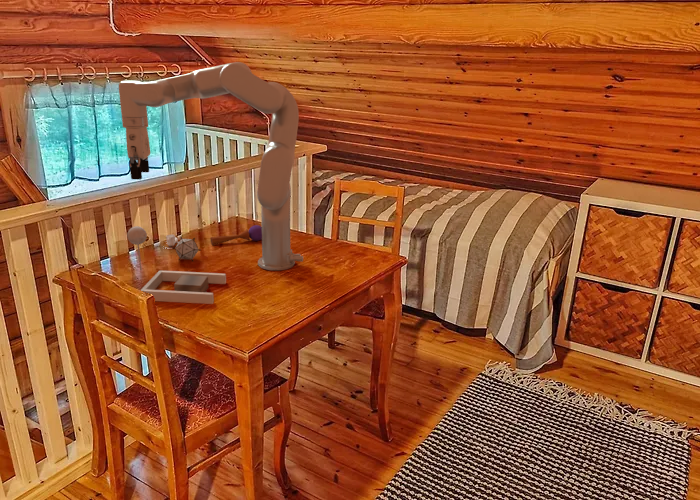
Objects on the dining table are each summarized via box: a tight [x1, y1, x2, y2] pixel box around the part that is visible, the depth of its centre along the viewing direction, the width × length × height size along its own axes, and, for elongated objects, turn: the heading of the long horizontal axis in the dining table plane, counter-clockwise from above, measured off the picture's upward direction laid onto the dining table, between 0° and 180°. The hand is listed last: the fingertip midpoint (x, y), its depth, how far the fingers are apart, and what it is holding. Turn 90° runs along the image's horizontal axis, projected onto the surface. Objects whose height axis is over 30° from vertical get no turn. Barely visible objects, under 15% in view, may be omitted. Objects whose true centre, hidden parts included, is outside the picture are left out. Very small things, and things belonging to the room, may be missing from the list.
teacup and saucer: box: [165, 233, 179, 250], centre depth 209 cm, size 9×8×4 cm
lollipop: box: [126, 225, 148, 271], centre depth 184 cm, size 6×6×15 cm
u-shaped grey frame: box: [140, 270, 227, 305], centre depth 172 cm, size 21×15×3 cm
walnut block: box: [173, 275, 209, 292], centre depth 172 cm, size 8×7×4 cm
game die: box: [172, 236, 201, 262], centre depth 195 cm, size 9×8×10 cm
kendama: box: [210, 224, 262, 247], centre depth 214 cm, size 6×6×20 cm
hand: (140, 175), depth 184 cm, fingers open, 9 cm apart
